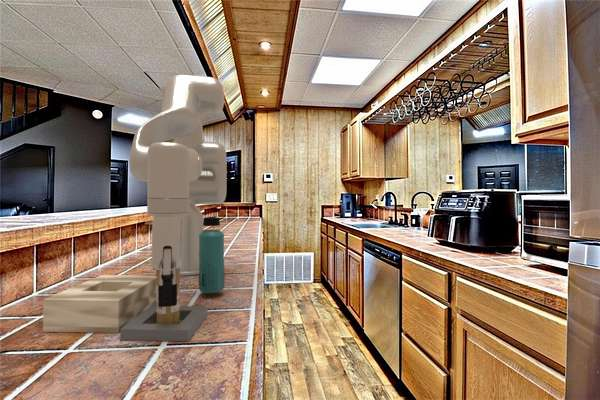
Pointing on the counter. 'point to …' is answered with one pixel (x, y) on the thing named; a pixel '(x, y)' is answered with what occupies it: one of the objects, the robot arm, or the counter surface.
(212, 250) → the beverage bottle
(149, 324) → the charcoal collar
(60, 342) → the counter surface
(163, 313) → the sprinkles bottle
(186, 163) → the robot arm
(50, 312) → the birch dock block
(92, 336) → the counter surface
